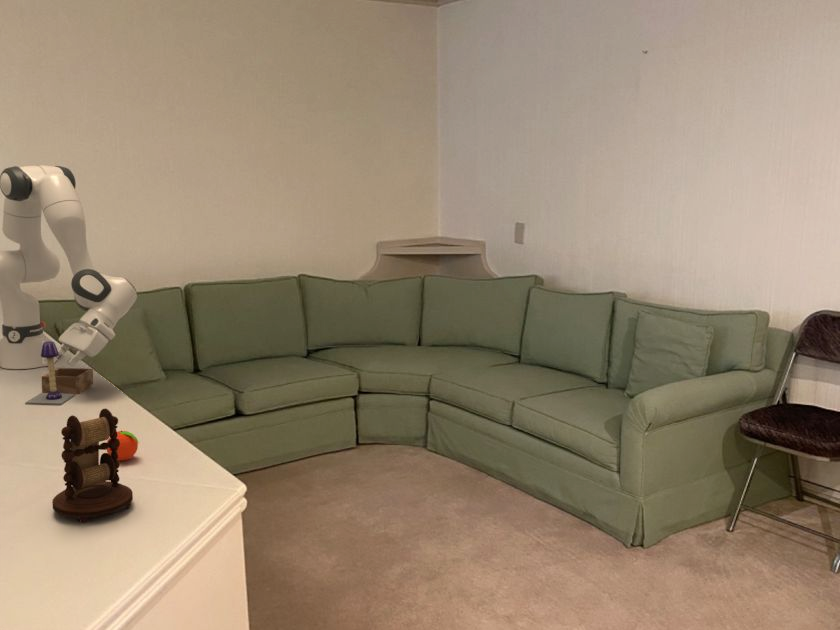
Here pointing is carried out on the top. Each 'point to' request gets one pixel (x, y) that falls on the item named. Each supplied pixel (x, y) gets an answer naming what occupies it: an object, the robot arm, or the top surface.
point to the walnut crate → (69, 380)
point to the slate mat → (42, 400)
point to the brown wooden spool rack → (91, 469)
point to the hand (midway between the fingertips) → (63, 361)
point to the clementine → (125, 445)
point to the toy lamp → (51, 368)
